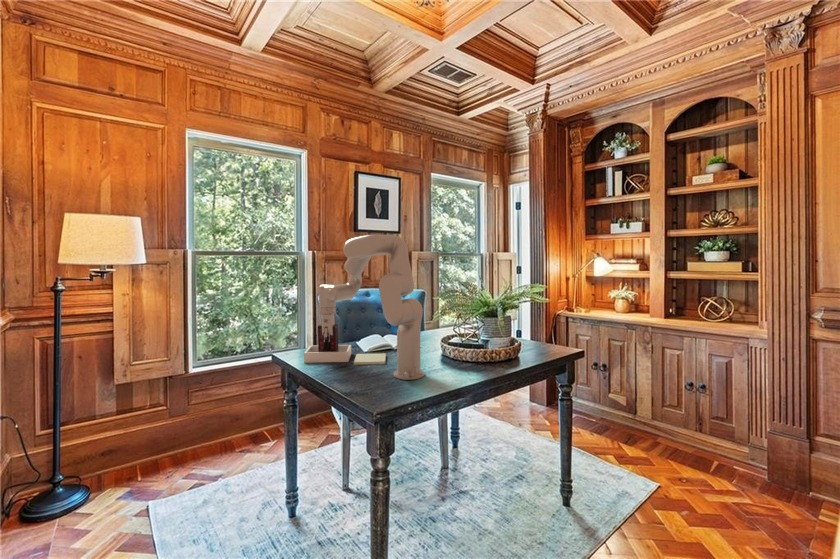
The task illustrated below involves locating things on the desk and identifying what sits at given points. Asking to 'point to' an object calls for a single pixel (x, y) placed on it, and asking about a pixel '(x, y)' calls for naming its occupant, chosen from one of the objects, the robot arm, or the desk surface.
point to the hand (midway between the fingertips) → (328, 348)
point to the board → (370, 359)
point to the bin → (327, 354)
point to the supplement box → (332, 339)
